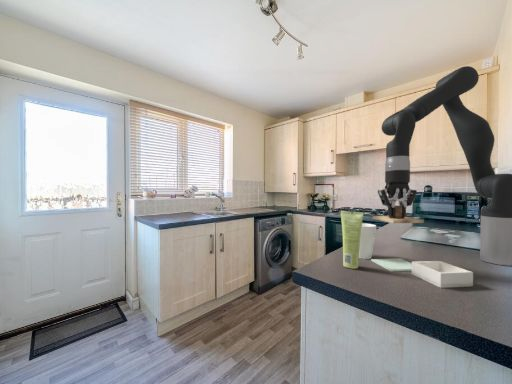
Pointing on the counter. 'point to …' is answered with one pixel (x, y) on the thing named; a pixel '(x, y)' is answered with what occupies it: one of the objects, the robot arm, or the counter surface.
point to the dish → (442, 274)
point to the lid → (398, 217)
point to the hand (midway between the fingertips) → (396, 217)
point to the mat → (394, 264)
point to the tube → (351, 237)
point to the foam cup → (367, 240)
